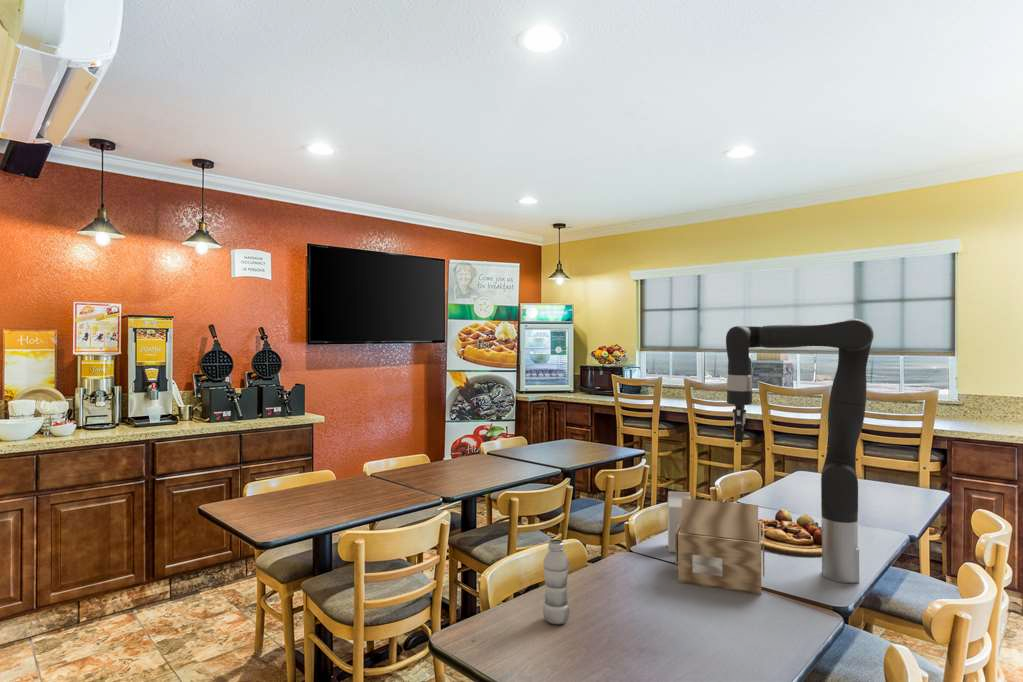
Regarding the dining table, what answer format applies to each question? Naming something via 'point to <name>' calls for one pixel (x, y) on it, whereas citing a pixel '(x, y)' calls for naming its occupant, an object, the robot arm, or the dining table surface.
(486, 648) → the dining table surface
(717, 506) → the front flap
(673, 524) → the milk carton
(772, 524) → the wooden plate with food
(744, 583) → the light wooden open box
